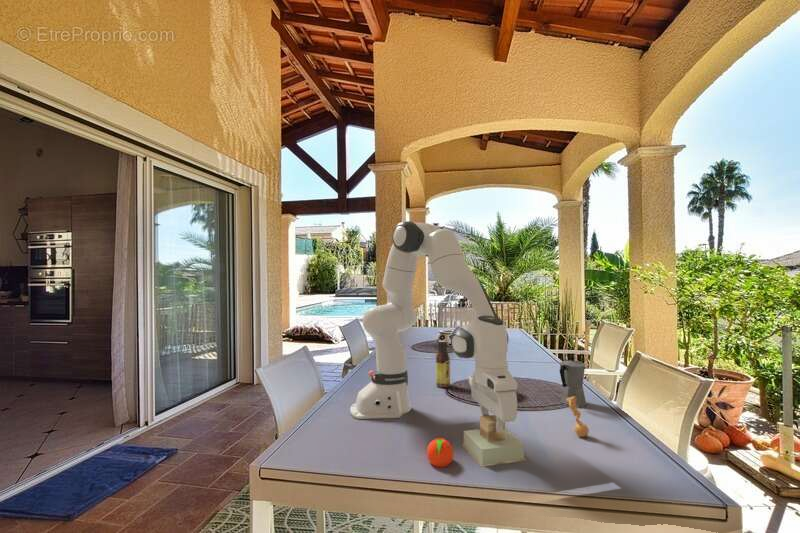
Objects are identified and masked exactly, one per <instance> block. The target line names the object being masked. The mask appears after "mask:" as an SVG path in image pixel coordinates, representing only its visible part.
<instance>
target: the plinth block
mask: <svg viewBox="0 0 800 533" xmlns="http://www.w3.org/2000/svg"><path fill="white" fill-rule="evenodd" d="M463 444H464V446H465V447H466V448H467V449H468V450H469V451H470V452H471V453H472V455H473V456H474V457H475V458H476V459H477V460H478V461H479V462H480V463H481V464H482V465H488V464H495V463H502V462H509V461H516V460H523V459H524V458H525V444H524V442H522V441H520V439H518V438H517V437H516V436H514V434H512V433H511V432H509V430H507V429H505V440H501V441H493V442H488V441H487V440H486V439H484V438H483V437H482V436H481V435H480V428H477V429H470V430H463Z"/></svg>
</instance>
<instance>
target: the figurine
mask: <svg viewBox="0 0 800 533" xmlns="http://www.w3.org/2000/svg"><path fill="white" fill-rule="evenodd" d="M575 400H576V397H575V396H573V397H569V398H567V403H568V404H569V406H568V407H570V408H569V409H570V410H571V412H572V414H573V416H574V417H575V422H576V424H575V425H574V427H573V429H574V430H573V431H574V432H575V435H577V436H578V437H579V438H586V437H587V436H588V435H589V432H590V431H589V427H588V426H587V425H586V424H585V423H583V422H582V421H580V418H581V412H580V411H579V410H578V409H579V407H578V406H577V405H576V402H575ZM575 405H576V406H575Z"/></svg>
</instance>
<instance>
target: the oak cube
mask: <svg viewBox="0 0 800 533" xmlns="http://www.w3.org/2000/svg"><path fill="white" fill-rule="evenodd" d="M489 415H490V414H489ZM496 422H497V420H496V416H495V415H494V414H491V415H490V416H482V415H481V416H479V429H480V435H481V436H482V437H483V438H484V439H486V440H487V441H488V442H493V441H501V440H505V430H506V422H505V423H504V425H503V432H500V433H498V432H497V431H496V430H495V424H496Z"/></svg>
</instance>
